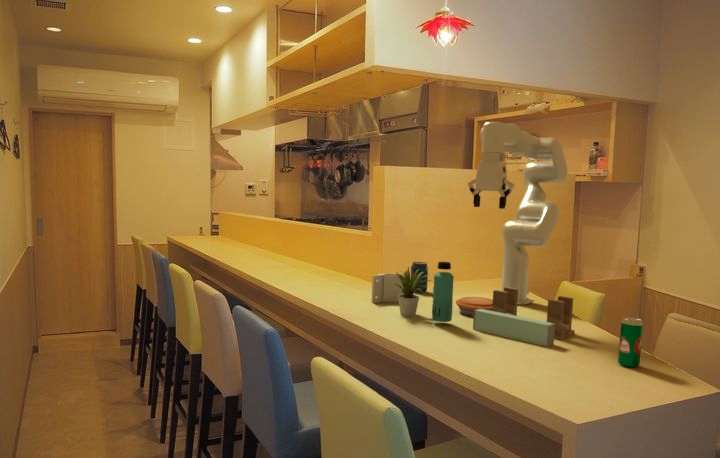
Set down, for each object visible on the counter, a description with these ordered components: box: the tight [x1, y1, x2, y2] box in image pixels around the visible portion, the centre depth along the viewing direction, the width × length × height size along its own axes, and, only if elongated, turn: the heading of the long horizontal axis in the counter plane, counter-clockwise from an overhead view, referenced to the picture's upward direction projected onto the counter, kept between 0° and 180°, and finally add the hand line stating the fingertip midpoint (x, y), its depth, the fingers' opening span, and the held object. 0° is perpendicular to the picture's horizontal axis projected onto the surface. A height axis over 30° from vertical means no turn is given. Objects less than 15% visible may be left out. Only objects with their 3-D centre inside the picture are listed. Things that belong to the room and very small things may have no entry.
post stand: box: [492, 287, 576, 341], centre depth 173 cm, size 10×24×11 cm, turn 49°
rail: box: [472, 309, 555, 348], centre depth 164 cm, size 4×24×6 cm, turn 49°
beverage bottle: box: [431, 261, 454, 323], centre depth 174 cm, size 6×7×20 cm
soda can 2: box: [617, 316, 644, 369], centre depth 140 cm, size 5×5×12 cm
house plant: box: [392, 266, 432, 317], centre depth 184 cm, size 14×14×16 cm
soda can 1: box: [410, 261, 429, 294], centre depth 225 cm, size 7×7×12 cm
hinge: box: [371, 273, 405, 304], centre depth 206 cm, size 14×5×10 cm, turn 106°
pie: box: [455, 296, 493, 317], centre depth 192 cm, size 16×16×5 cm
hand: (489, 207), depth 192 cm, fingers open, 9 cm apart
